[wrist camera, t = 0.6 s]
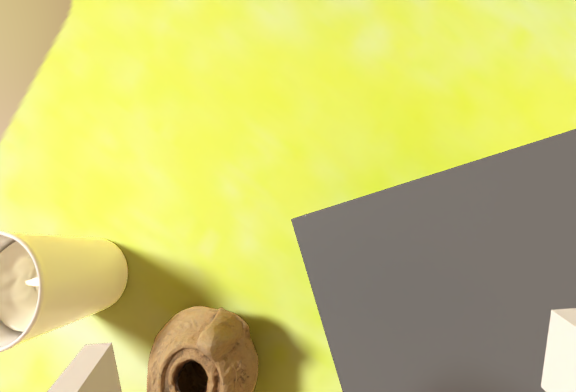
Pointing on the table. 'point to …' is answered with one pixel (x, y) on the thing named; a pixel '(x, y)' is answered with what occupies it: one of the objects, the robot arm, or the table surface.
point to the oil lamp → (203, 353)
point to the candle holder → (55, 282)
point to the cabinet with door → (449, 273)
